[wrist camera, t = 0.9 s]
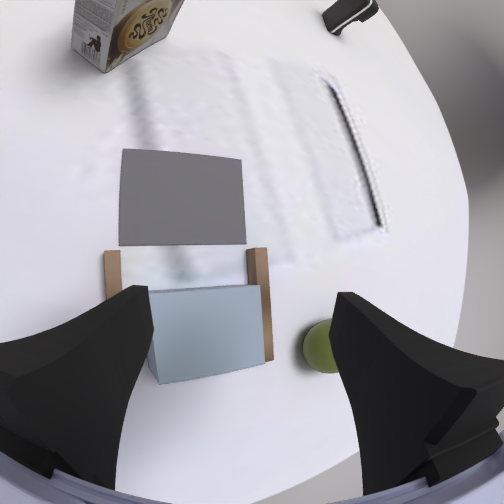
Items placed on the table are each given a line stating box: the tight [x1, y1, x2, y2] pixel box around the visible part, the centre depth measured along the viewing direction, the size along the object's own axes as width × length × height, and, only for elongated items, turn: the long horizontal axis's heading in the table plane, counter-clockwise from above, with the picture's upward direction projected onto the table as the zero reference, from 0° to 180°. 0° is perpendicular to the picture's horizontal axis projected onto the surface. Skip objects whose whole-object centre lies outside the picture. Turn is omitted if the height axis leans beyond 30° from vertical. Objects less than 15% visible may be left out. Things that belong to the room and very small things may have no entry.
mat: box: [119, 149, 247, 246], centre depth 23 cm, size 8×11×1 cm
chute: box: [104, 248, 274, 362], centre depth 21 cm, size 10×13×2 cm
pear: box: [303, 319, 339, 373], centre depth 28 cm, size 6×5×10 cm
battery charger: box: [323, 0, 379, 35], centre depth 34 cm, size 7×4×11 cm, turn 1°
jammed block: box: [147, 285, 265, 385], centre depth 20 cm, size 6×8×4 cm
